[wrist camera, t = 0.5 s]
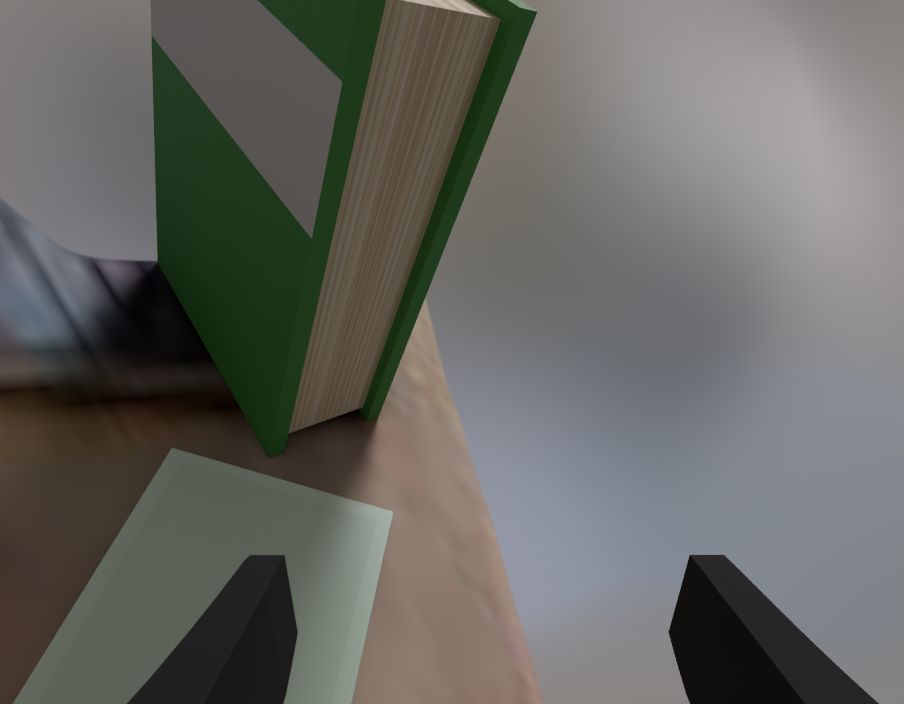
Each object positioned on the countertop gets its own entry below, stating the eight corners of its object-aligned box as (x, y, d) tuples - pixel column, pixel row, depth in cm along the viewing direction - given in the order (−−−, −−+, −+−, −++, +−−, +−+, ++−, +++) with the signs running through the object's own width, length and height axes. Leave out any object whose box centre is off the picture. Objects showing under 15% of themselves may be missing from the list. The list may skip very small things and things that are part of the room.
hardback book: (378, 416, 36) (537, 11, 20) (268, 457, 31) (363, -27, 15) (259, 249, 43) (307, -139, 28) (157, 262, 39) (145, -194, 23)
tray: (314, 854, 20) (319, 852, 20) (-31, 786, 19) (-38, 781, 18) (389, 518, 31) (393, 510, 30) (172, 456, 29) (172, 446, 29)
